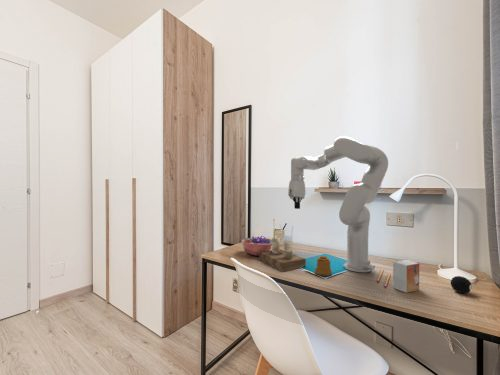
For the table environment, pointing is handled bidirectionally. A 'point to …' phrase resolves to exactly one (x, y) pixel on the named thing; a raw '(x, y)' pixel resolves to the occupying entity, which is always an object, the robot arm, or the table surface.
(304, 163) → the robot arm
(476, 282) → the table surface
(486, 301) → the table surface
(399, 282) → the small box
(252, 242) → the cell model
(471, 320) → the table surface
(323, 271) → the ornamental finial
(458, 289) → the billiard ball
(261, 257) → the brown block with hole
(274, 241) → the birch leg
